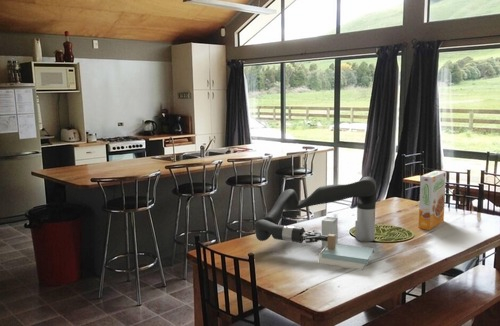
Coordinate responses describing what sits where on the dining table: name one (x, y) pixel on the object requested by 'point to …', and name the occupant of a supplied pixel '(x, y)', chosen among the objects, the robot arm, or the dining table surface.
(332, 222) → the skincare box
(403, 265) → the dining table surface
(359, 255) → the lid
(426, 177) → the cereal box
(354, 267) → the box
